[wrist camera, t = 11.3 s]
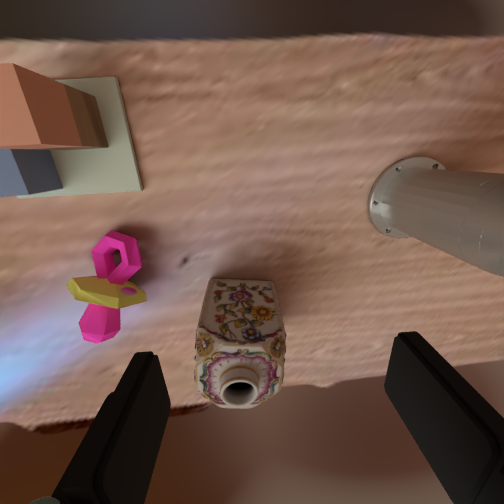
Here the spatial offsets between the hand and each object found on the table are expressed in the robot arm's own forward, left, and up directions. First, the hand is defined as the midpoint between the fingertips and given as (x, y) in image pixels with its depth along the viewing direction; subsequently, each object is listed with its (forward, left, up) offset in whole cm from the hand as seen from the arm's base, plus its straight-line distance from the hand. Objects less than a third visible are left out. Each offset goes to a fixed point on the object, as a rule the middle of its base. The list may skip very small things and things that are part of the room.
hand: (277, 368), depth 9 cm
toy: (+23, +10, -31) cm, 40 cm away
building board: (+25, -11, -30) cm, 41 cm away
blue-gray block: (+30, -8, -30) cm, 43 cm away
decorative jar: (+3, +18, -31) cm, 36 cm away
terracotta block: (+22, -13, -24) cm, 35 cm away
